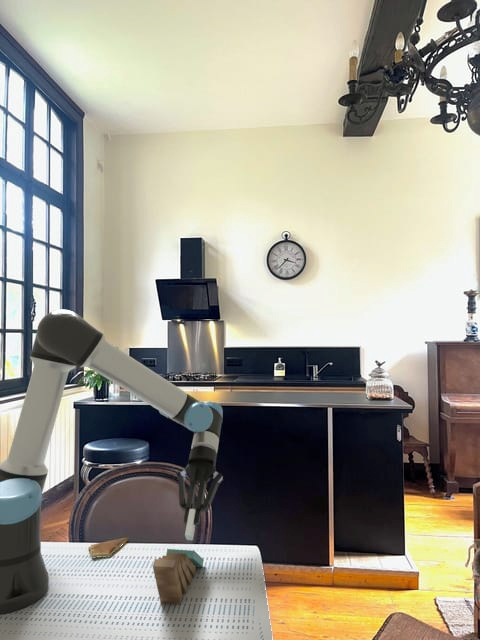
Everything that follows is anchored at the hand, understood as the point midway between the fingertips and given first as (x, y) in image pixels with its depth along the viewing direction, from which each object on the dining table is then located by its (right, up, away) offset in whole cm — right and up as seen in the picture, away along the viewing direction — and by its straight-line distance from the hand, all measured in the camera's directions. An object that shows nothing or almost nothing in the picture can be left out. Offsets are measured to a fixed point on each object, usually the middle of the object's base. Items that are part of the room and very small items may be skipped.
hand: (188, 537), depth 108 cm
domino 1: (0, -7, +1) cm, 7 cm away
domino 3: (-1, -7, -6) cm, 9 cm away
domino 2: (0, -7, -3) cm, 7 cm away
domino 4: (-1, -6, -10) cm, 12 cm away
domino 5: (-2, -6, -14) cm, 15 cm away
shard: (-24, -9, +11) cm, 28 cm away
